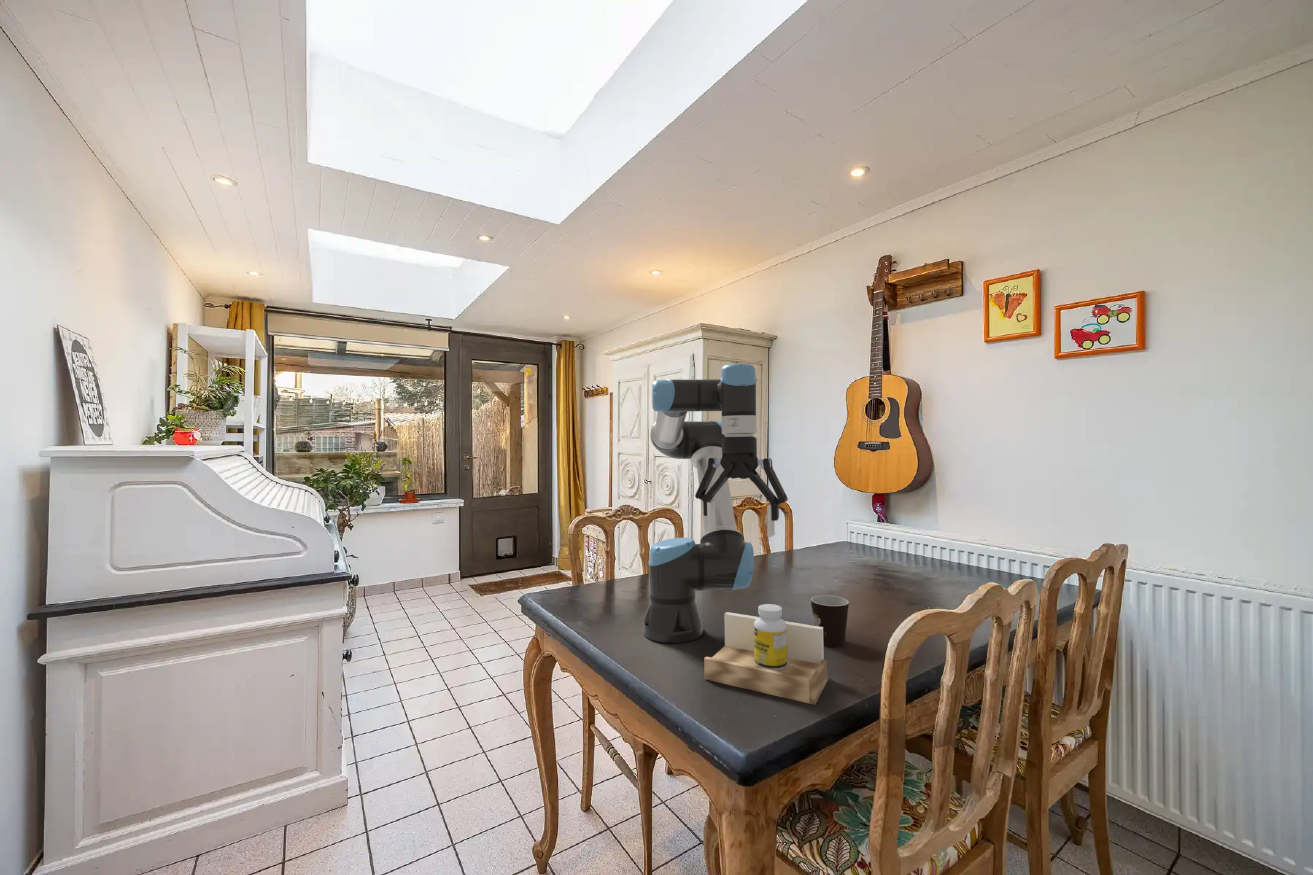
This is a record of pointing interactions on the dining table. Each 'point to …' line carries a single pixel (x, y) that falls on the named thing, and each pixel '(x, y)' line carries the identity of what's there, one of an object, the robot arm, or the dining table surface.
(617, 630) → the dining table surface
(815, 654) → the wall board
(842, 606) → the coffee mug
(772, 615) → the pill bottle
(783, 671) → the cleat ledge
